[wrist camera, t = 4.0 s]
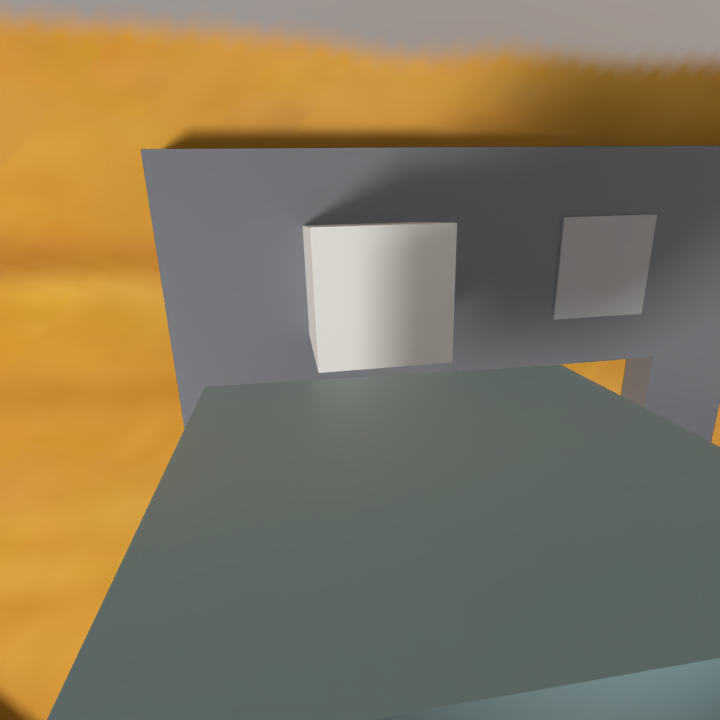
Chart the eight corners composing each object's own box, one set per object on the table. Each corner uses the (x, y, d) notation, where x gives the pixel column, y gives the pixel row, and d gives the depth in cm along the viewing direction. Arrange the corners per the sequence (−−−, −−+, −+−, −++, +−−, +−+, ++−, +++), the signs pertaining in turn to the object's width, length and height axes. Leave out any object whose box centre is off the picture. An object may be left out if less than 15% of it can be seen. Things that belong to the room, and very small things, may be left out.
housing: (560, 364, 9) (1023, 603, 3) (526, 631, 11) (782, 1064, 5) (204, 386, 8) (18, 780, 2) (238, 676, 10) (180, 1266, 4)
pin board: (741, 150, 20) (928, 122, 14) (674, 477, 24) (794, 555, 19) (152, 155, 16) (82, 119, 10) (210, 536, 21) (183, 655, 15)
